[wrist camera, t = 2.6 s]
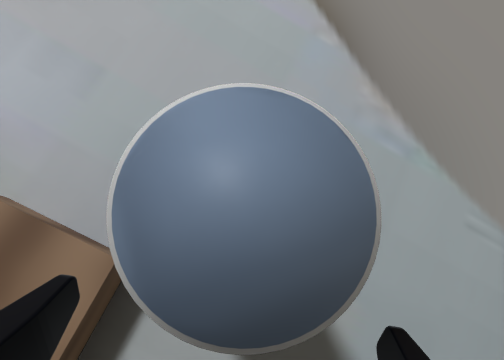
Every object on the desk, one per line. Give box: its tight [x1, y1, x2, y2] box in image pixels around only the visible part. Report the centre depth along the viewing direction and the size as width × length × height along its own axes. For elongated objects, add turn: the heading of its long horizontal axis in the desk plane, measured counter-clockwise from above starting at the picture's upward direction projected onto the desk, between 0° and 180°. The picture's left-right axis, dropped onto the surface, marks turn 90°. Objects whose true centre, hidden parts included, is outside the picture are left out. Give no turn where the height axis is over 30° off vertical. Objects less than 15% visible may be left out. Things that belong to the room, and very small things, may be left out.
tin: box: [106, 83, 381, 355], centre depth 12 cm, size 6×6×13 cm
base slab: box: [0, 196, 121, 360], centre depth 16 cm, size 9×9×2 cm
